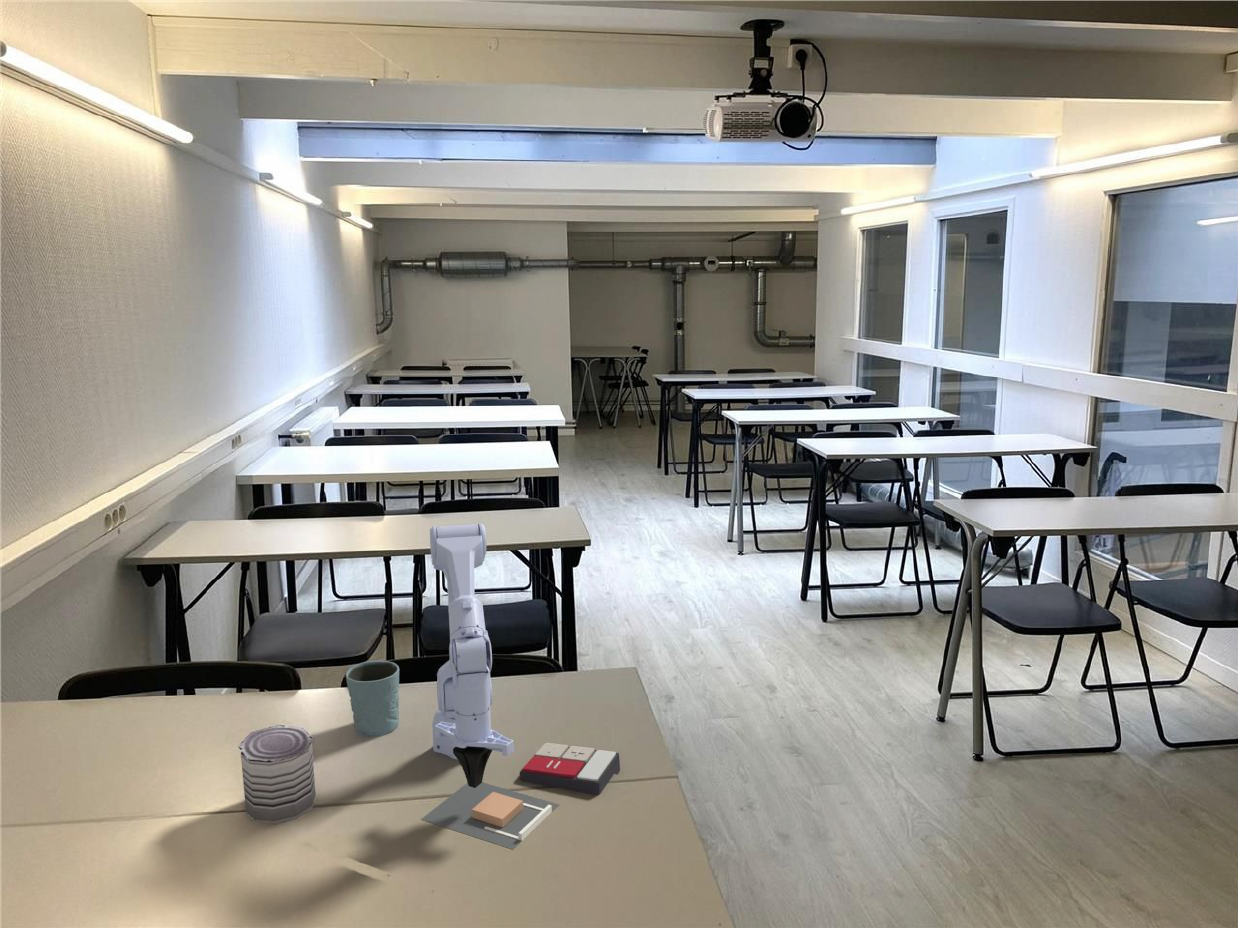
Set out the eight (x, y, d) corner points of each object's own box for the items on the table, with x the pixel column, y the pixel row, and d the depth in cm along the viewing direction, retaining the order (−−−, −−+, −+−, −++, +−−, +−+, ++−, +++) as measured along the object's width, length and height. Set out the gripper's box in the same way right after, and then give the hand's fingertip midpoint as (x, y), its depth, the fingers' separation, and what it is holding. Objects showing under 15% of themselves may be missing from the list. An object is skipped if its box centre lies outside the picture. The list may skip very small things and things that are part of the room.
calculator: (543, 739, 173) (619, 748, 168) (545, 760, 174) (620, 770, 169) (518, 768, 163) (598, 778, 158) (520, 790, 164) (599, 802, 159)
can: (298, 779, 166) (293, 717, 164) (328, 804, 158) (324, 739, 156) (234, 804, 158) (228, 739, 156) (263, 832, 150) (257, 764, 148)
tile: (471, 809, 152) (502, 819, 149) (493, 791, 157) (523, 800, 154) (472, 818, 152) (502, 828, 149) (493, 800, 157) (523, 809, 155)
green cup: (412, 723, 187) (409, 667, 185) (374, 743, 179) (371, 685, 176) (377, 710, 193) (373, 656, 190) (338, 730, 184) (334, 673, 182)
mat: (420, 824, 152) (420, 812, 152) (472, 784, 164) (471, 772, 164) (513, 855, 144) (512, 842, 144) (559, 809, 156) (559, 797, 156)
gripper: (421, 708, 152) (425, 785, 154) (495, 727, 145) (497, 807, 148) (448, 692, 158) (451, 765, 160) (520, 709, 151) (522, 785, 154)
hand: (475, 784), depth 154 cm, fingers closed
